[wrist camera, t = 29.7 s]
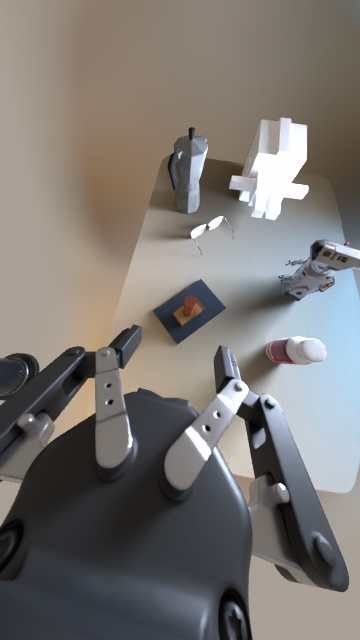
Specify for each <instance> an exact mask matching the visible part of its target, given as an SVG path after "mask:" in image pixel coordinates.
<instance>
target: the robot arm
mask: <svg viewBox="0 0 360 640" xmlns="http://www.w3.org/2000/svg"><path fill="white" fill-rule="evenodd" d="M141 333H142V327H141V326H138V325H133V326H132V327H131V328H130V329H129V328H127V329H125V330H123V331H122V332H121V333H120V334H119V335H118V336H117V337H116V338H115V339H114V340H113V342H112V343H111V344H110V345H109V346H108V347H103V348H101V349H99V350H98V351H97V352H85V349H84V348H83V347H79V346H78V347H72V348H69V349H67V350H66V351H65V352H64V353H62V354H61V355H60V356H59V357H58V358H56V359H55V360H54V361H53V362H52V363H50V364H49V365H48V366H47V367H46V368H44V369H43V370H42V371H41V372H40V373H38V374H37V375H36V376H35V377H34V378H33V379H31V380H30V381H29V382H28V383H27V381H28V379H29V376H30V367H29V364H28V363H27V361H25V360H24V359H21V358H0V396H6V395H11V394H13V395H12V396H11V397H10V398H9V399H7V400H6V401H5V402H4V403H3V404H2V405H0V482H1V481H3V480H5V481H10V482H15V483H21V486H20V489H19V492H18V494H17V496H16V499H15V501H14V503H13V505H12V507H11V509H10V511H9V513H8V515H7V516H6V518H5V520H4V522H3V523H2V525H1V526H0V640H253V639H252V632H251V625H250V618H249V604H248V583H249V567H250V560H251V554H252V555H255V556H257V557H259V558H262V559H264V560H266V561H269V562H271V563H273V564H274V565H275V567H276V568H277V570H278V571H279V572H280V574H281V575H282V576H283V577H284V578H286V579H287V580H289V581H292V582H297V583H301V584H306V585H311V586H315V587H320V588H324V589H329V590H334V591H338V592H345V591H346V590H347V589H348V586H349V576H348V571H347V568H346V564H345V561H344V559H343V556H342V554H341V552H340V550H339V547H338V544H337V542H336V540H335V537H334V535H333V532H332V530H331V528H330V525H329V523H328V520H327V518H326V516H325V513H324V511H323V508H322V506H321V504H320V501H319V499H318V496H317V494H316V492H315V489H314V487H313V484H312V482H311V480H310V477H309V475H308V472H307V470H306V468H305V465H304V463H303V460H302V458H301V456H300V453H299V451H298V448H297V446H296V444H295V441H294V439H293V436H292V434H291V432H290V429H289V427H288V424H287V422H286V419H285V417H284V415H283V412H282V410H281V407H280V405H279V404H278V402H277V401H276V400H275V399H274V398H273V397H272V396H270V395H268V394H261V395H260V396H258V395H257V394H255V393H253V392H251V391H249V390H248V387H247V386H246V384H245V383H244V382H243V381H241V377H240V373H239V370H238V367H237V362H236V359H235V357H234V356H233V354H231V353H229V350H228V347H224V346H219V348H218V350H217V352H216V355H215V357H214V372H215V384H216V393H217V395H216V397H215V398H214V399H213V400H212V401H211V402H210V404H209V405H208V406H207V407H206V408H205V409H204V410H203V412H202V413H201V414H199V413H198V412H197V411H196V410H195V409H194V408H192V407H191V406H190V401H187V400H184V399H180V398H163V397H161V396H159V395H157V394H155V393H154V392H152V391H149V390H145V389H142V388H139V389H138V391H137V392H131V393H128V394H125V395H123V390H122V384H121V379H120V373H119V368H121V369H124V367H125V366H126V364H127V363H128V361H129V359H130V358H131V356H132V355H133V353H134V352H135V350H136V349H137V347H138V346H139V344H140V342H141ZM88 378H95V398H96V413H94V414H93V415H91V416H90V417H88V418H87V419H85V420H84V421H82V422H80V423H79V424H77V425H76V426H74V427H73V428H71V429H70V430H68V431H67V432H65V433H63V434H62V435H60V436H59V437H57V438H56V439H54V440H53V441H52V442H50V443H49V444H48V441H49V439H50V437H51V435H52V433H53V432H54V428H55V426H54V423H53V422H54V421H55V420H56V418H57V417H58V416H59V415H60V413H61V412H62V411H63V410H64V408H65V407H66V406H67V405H68V403H69V402H70V400H71V399H72V398H73V397H74V396H75V394H76V393H77V392H78V391H79V389H80V388H81V386H82V385H83V384H84V383H85V382H86V380H87V379H88ZM26 383H27V384H26ZM14 393H15V394H14ZM235 414H236V415H238V416H240V417H241V418H243V419H244V420H245V425H246V431H247V436H248V442H249V447H250V453H251V458H252V464H253V470H254V475H255V480H253V481H252V482H251V484H250V487H249V495H250V498H249V503H248V506H247V503H246V500H245V498H244V495H243V493H242V491H241V489H240V487H239V486H238V484H237V482H236V480H235V478H234V476H233V474H232V473H231V471H230V469H229V467H228V465H227V463H226V461H225V460H224V458H223V456H222V454H221V452H220V450H219V448H218V447H217V445H216V444H217V443H218V441H219V440H220V438H221V436H222V435H223V433H224V432H225V430H226V428H227V427H228V425H229V424H230V422H231V420H232V419H233V417H234V416H235ZM47 444H48V445H47Z"/></svg>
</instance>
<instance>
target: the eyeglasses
mask: <svg viewBox="0 0 360 640" xmlns="http://www.w3.org/2000/svg"><path fill="white" fill-rule="evenodd" d="M222 218H224V217H223V216H220V217H218V218H216V219H214V220H212V221H211V222H210V223H209V224H208V225H209V230H210V229H213V228H215V227H217V226H218V225H219V224H220V222H221V220H222ZM224 219H225V218H224ZM225 221H226V219H225ZM226 222H227V221H226ZM227 224H228V223H227ZM228 225H229V224H228ZM205 226H207V225H205V224H204V225H201V226H199V227H197V228H195V229H194V230H192V232H190V235H191V238H194V237H197V236H198V235H200V234H201V233H202V232H203V231H205V229H206V228H205ZM229 227H230V226H229ZM231 230H232V229H231ZM232 232H233V231H232ZM233 236H234V233H233ZM193 240H194V239H193ZM194 241H195V240H194ZM195 243H196V242H195ZM197 246H198V245H197ZM198 248H199V247H198ZM199 249H200V248H199ZM200 251H201V250H200ZM201 254H202V253H201Z"/></svg>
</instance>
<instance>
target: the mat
mask: <svg viewBox="0 0 360 640" xmlns="http://www.w3.org/2000/svg"><path fill="white" fill-rule="evenodd" d="M188 296H192V297H194V298H195V299H196V303H197V304H198V305H199V307H200V308H201V309H202V312H201V313H200V314H199V315H198V316H196V317H195V318H194V319H192V320H191V321H189V322H188V323H187V324H185V325H184V326H182V327H181V326H180V324H179V323H178V322H177V320H176V319H175V318H174V316H173V313H174V312H176V311H177V310H179V309H180V308H182V307H183V306H184V300H185V298H186V297H188ZM224 309H226V307H225V306H224V305H223V304H222V303H221V302H220V300H219V299H218V298H217V297H216V296H215V295H214V294H213V292H212V291H211V290H210V289H209V288H208V287H207V286H206V284H205V283H204V282H203V281H202V280H201V279H200V280H199V281H197V282H196V283H194V284H193V285H191V286H190V287H189V288H187V289H186V290H184V291H183V292H181V293H180V294H178V295H177V296H175V297H174V298H172V299H171V300H169V301H168V302H166V303H165V304H163V305H162V306H160V307H159V308H157V309H156V310H154V313H155V314H156V315H157V317H158V318H159V320H160V321H161V322H162V324H163V325H164V326H165V328H166V329H167V331H168V332H169V333H170V335H171V336H172V337H173V339H174V340H175V342H176V343H177V344H179V343H180V342H181V341H183V340H184V339H185V338H187V337H188V336H189V335H191V334H192V333H193V332H195V331H196V330H197V329H199V328H200V327H201V326H203V325H204V324H205V323H207V322H208V321H210V320H211V319H212V318H214V317H215V316H216V315H218V314H219V313H220V312H222V311H223V310H224Z"/></svg>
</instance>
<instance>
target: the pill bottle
mask: <svg viewBox="0 0 360 640" xmlns="http://www.w3.org/2000/svg"><path fill="white" fill-rule="evenodd" d="M266 353H267V356H268V357H269V358H270V359H271V360H272V361H273V362H276V363H284V364H298V365H308V364H310V363H312V362H320V361H322V360H323V359H324V358H325V356H326V349H325V347H324V345H323V344H322V343H321V342H320V341H318V340H317V339H313V338H309V339H306V338H303V337H292V338H286V339H280V340H274V341H271V342H269V343H268V344H267V346H266Z"/></svg>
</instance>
